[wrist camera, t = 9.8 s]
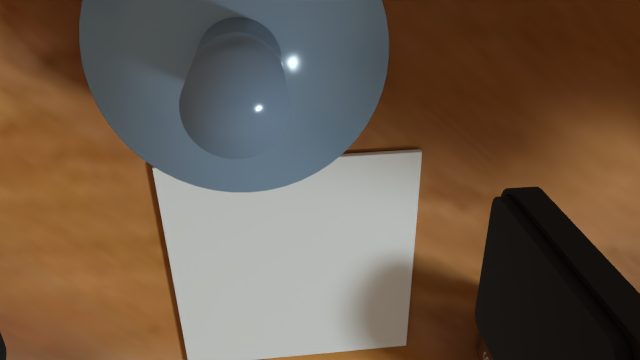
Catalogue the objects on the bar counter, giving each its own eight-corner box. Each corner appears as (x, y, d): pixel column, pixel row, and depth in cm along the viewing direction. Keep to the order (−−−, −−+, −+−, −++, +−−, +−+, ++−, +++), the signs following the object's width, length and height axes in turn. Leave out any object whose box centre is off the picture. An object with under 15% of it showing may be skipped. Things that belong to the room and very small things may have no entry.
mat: (420, 149, 33) (422, 152, 32) (404, 341, 40) (406, 345, 40) (153, 165, 31) (152, 168, 31) (189, 361, 39) (188, 365, 39)
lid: (394, -114, 21) (448, -117, 15) (378, 177, 27) (412, 257, 21) (51, -113, 20) (-37, -115, 14) (115, 191, 26) (74, 280, 20)
